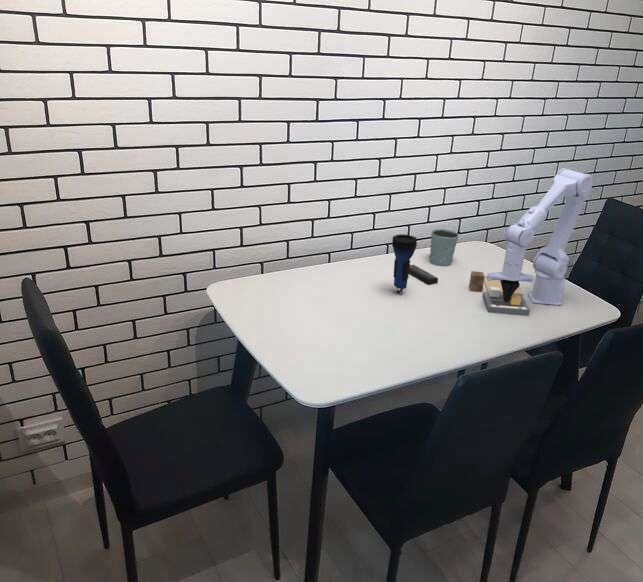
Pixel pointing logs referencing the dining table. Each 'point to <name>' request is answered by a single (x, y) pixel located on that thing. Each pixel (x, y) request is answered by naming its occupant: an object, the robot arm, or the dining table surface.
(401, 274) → the flashlight
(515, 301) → the switch tab
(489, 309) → the switch panel
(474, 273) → the block
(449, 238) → the green cup
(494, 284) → the mat
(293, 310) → the dining table surface
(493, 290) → the switch tab
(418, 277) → the multiport hub
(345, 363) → the dining table surface
